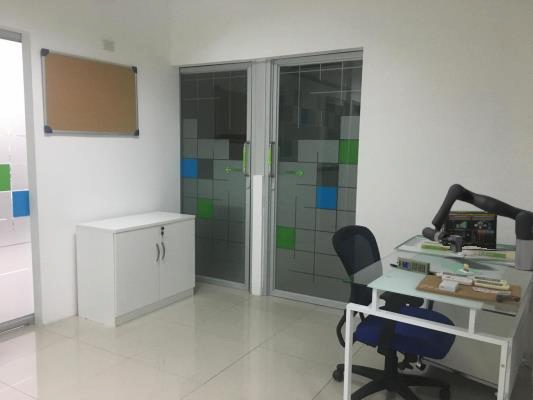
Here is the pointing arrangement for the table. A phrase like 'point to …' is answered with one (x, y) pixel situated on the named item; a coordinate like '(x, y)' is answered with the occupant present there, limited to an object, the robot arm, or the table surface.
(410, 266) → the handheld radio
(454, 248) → the block
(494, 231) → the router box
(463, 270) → the pale green flat block
